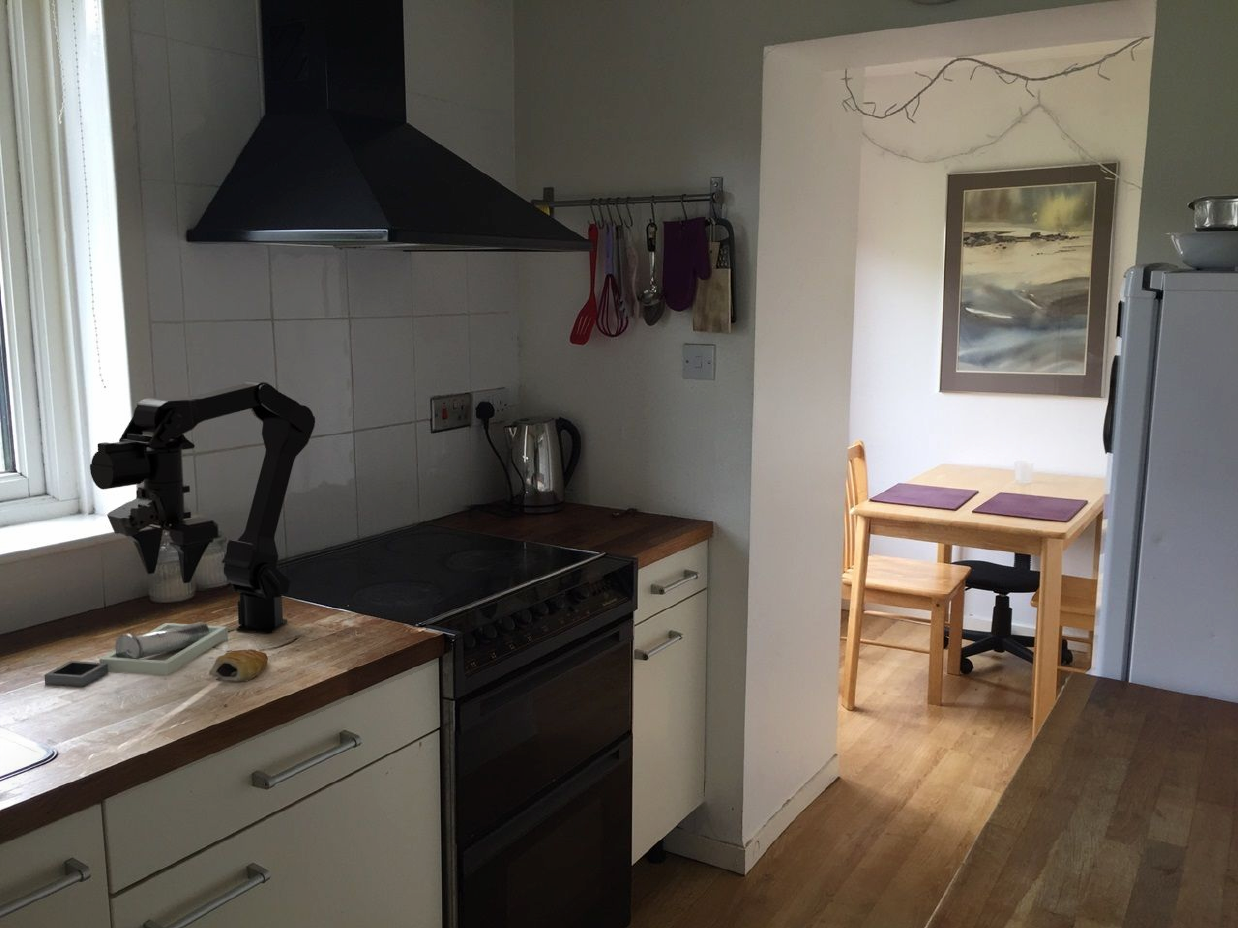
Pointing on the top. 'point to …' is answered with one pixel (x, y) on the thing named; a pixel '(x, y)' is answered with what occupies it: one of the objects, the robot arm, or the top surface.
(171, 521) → the robot arm
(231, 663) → the pastry
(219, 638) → the tray
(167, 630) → the pin
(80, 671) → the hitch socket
